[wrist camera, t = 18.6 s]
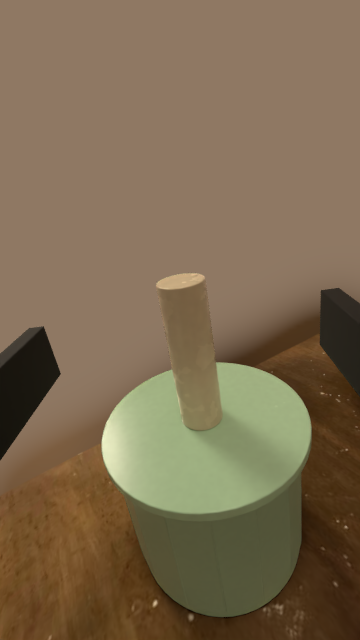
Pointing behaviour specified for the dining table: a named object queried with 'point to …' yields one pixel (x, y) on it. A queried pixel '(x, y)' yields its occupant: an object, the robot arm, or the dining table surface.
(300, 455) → the tin lid
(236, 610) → the tin
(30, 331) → the robot arm
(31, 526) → the dining table surface
